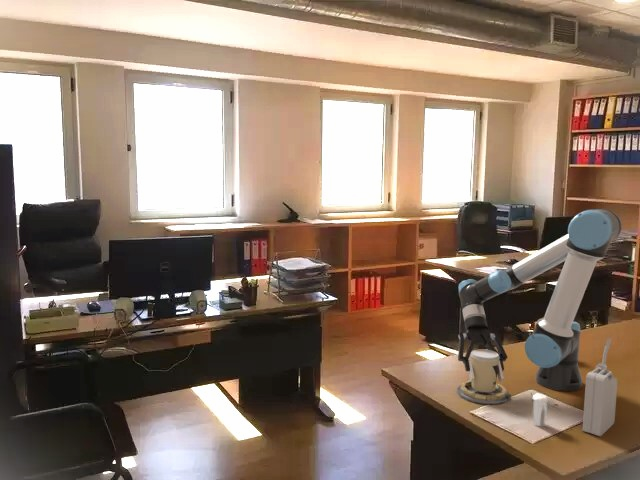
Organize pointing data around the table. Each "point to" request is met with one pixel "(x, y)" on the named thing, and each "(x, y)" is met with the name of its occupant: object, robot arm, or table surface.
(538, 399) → the milkshake
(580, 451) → the table surface
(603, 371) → the fuel canister
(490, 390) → the coffee cup
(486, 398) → the carrier plate
